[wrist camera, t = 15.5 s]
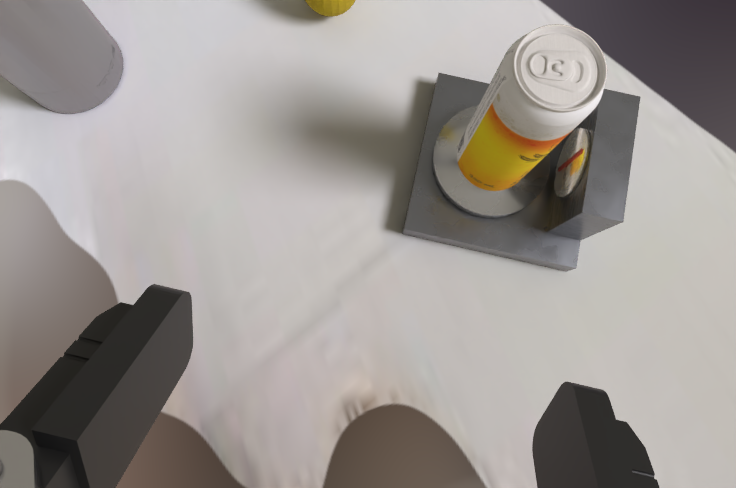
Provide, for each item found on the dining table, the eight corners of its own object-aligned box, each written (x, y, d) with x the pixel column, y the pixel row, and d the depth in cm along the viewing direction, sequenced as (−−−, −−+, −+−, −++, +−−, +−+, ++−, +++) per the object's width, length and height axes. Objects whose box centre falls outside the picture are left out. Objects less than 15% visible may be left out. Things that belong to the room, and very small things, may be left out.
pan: (422, 203, 43) (423, 200, 42) (444, 98, 45) (446, 93, 44) (535, 229, 43) (540, 226, 42) (553, 122, 44) (558, 117, 43)
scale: (402, 233, 45) (413, 208, 36) (435, 83, 47) (453, 25, 38) (566, 271, 44) (618, 255, 35) (590, 117, 47) (644, 67, 38)
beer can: (521, 199, 42) (610, 125, 27) (450, 187, 42) (500, 107, 27) (528, 132, 43) (618, 27, 28) (459, 121, 43) (512, 10, 28)
